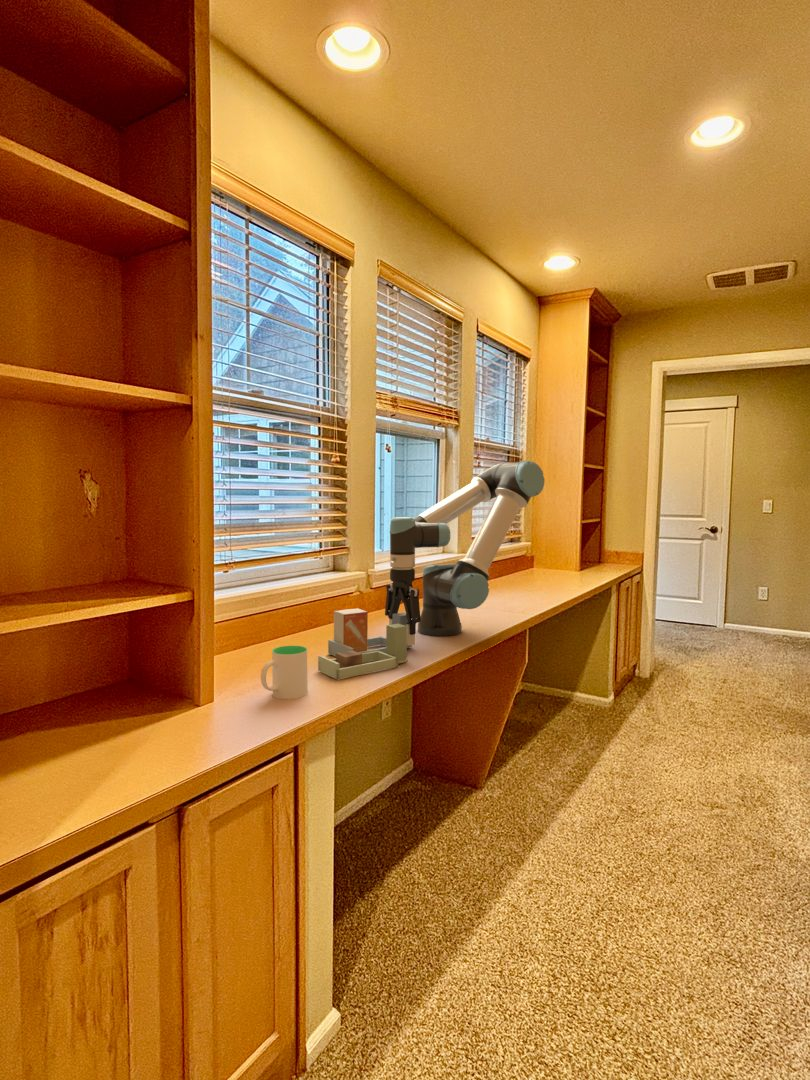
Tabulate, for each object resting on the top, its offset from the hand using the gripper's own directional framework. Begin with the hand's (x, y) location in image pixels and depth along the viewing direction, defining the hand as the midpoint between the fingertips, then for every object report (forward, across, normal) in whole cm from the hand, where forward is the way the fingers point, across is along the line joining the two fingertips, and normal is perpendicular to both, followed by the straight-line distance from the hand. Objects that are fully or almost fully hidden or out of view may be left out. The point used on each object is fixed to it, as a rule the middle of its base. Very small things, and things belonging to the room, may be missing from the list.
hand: (402, 641), depth 183 cm
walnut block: (+2, +12, -26) cm, 29 cm away
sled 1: (+1, 0, -10) cm, 10 cm away
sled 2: (+1, +12, -21) cm, 24 cm away
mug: (+2, +19, -48) cm, 52 cm away
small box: (+2, -2, -17) cm, 18 cm away
